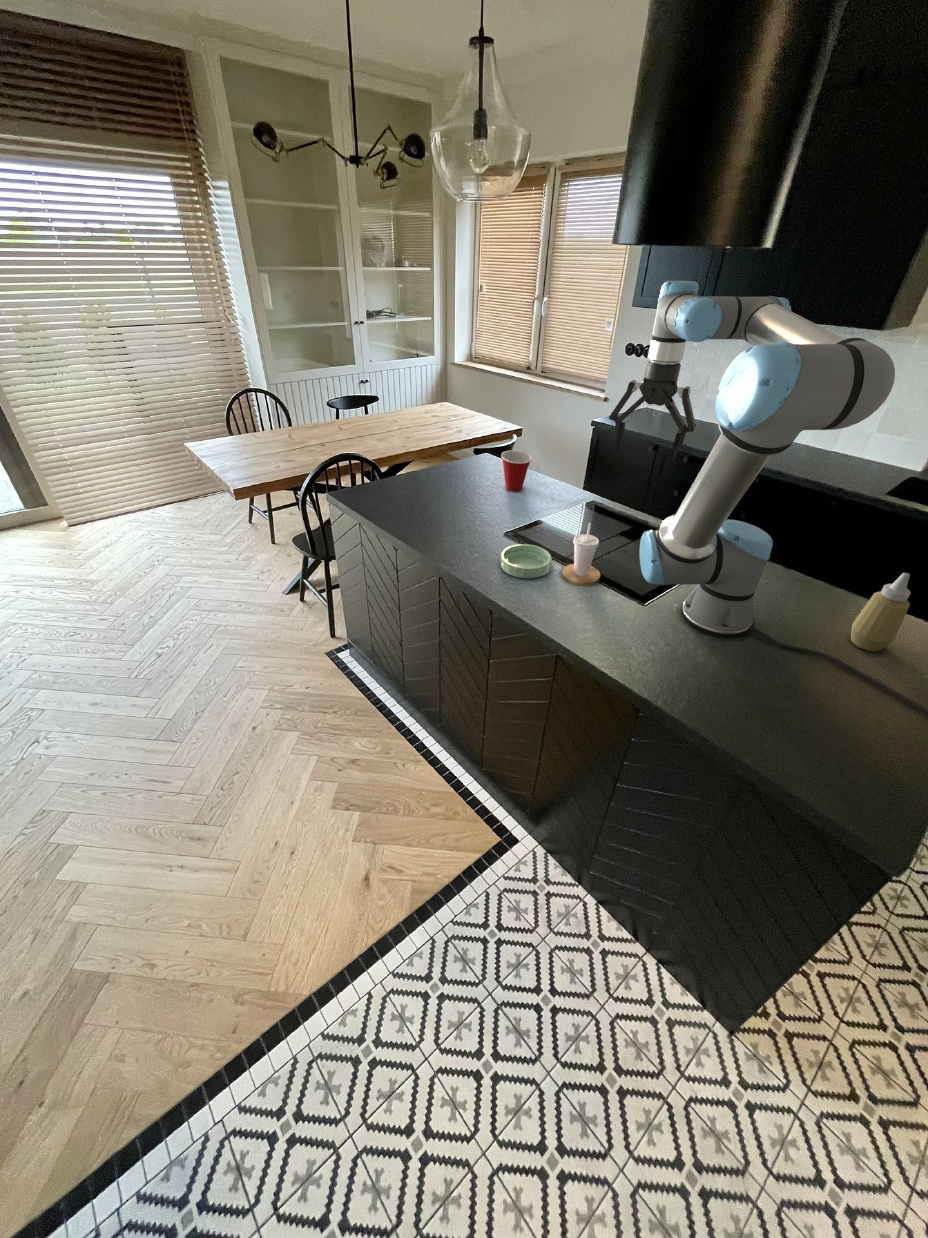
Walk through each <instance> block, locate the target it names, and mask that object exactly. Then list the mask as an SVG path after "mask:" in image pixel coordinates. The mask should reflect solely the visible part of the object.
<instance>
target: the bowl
mask: <svg viewBox="0 0 928 1238" xmlns="http://www.w3.org/2000/svg"><path fill="white" fill-rule="evenodd" d="M552 559H553V558H552V555H551V553H550V552H549V551H548V550H547V549H545V548H543V547H542V546H538V545H535V544H526V543H525V544H524V543H523V544H522V543H521V544H520V543H519V544H513V545H510V546H507V547H506V548H504V549H503V550H502V552H501V553H500V568H501V569H502V570H503V572H505V573H506V574H508V575H510V576H511V577H512V576H513V577H515V578H521V579H535V578H536V579H537V578H541V577H543V576H545V575H547V574H548V573H549V572H550V570H551V567H552Z"/></svg>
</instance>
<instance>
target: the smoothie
mask: <svg viewBox="0 0 928 1238" xmlns="http://www.w3.org/2000/svg"><path fill="white" fill-rule="evenodd" d="M591 526H592V523H591V522H588V525H587V531H586V534H585V533H581V534H577V535H575V536H574V537H573V540H572V542H573V545H574V547H573V552H574V553H573V564H574V573H575V574H576V575H578V576H586V575H588V573H589V570H590V566H592V563H593V560H594V556H595V553H596V550H597V548H598V547H599V544H600V540H599V539H598V538H597V536H594V535H592V534H590V531H591Z"/></svg>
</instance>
